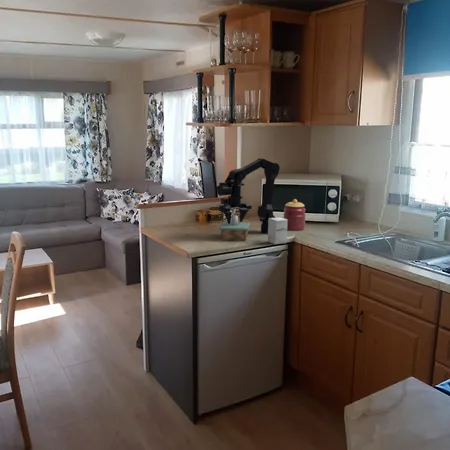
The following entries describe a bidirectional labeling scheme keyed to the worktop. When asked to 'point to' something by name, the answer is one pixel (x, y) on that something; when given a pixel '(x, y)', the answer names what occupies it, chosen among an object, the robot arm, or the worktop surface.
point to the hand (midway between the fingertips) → (235, 223)
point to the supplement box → (277, 230)
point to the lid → (234, 224)
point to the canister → (295, 215)
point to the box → (234, 235)
